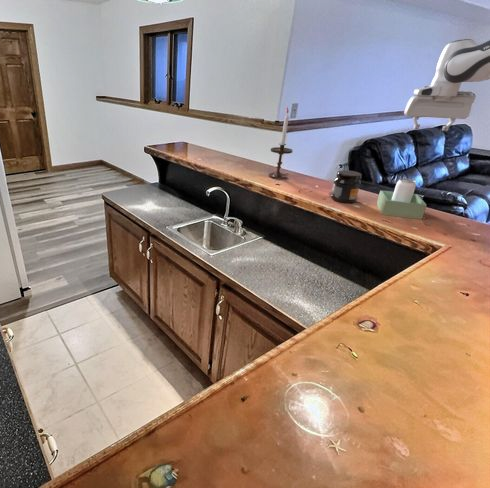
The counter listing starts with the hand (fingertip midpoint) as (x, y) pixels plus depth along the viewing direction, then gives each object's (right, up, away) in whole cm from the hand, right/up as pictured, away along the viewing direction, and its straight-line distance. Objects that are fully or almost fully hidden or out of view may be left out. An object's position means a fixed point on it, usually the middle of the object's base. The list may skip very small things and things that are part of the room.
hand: (430, 130), depth 134 cm
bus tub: (-7, -30, +8) cm, 32 cm away
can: (-7, -30, +8) cm, 32 cm away
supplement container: (-23, -24, +20) cm, 39 cm away
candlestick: (-42, -8, +53) cm, 68 cm away
